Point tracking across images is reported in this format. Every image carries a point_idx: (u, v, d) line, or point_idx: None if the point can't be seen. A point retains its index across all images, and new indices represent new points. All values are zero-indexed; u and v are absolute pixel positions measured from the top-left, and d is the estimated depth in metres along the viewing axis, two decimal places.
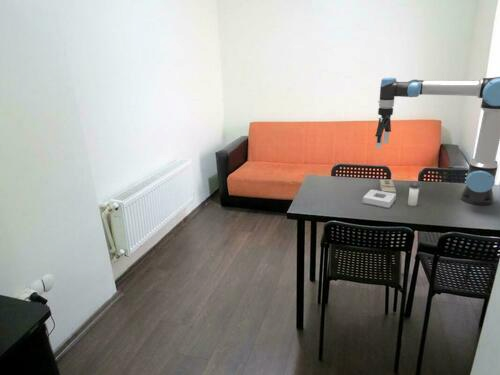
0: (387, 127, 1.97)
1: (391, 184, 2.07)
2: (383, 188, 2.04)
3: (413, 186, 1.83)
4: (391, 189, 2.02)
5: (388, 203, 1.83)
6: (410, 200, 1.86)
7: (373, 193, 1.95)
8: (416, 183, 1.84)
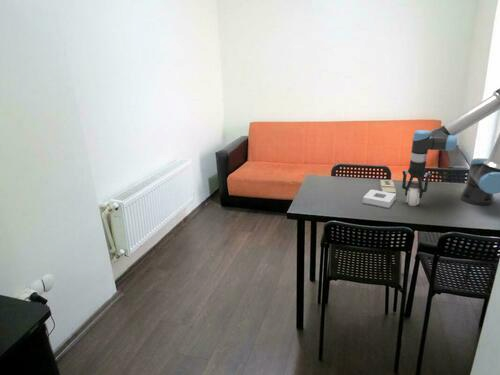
0: None
1: (391, 185, 2.06)
2: (383, 189, 2.03)
3: (413, 186, 1.83)
4: (391, 190, 2.01)
5: (388, 203, 1.83)
6: (410, 200, 1.86)
7: (373, 193, 1.95)
8: (416, 183, 1.84)
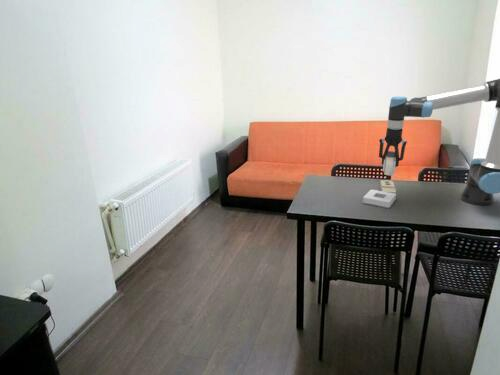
0: None
1: (391, 185, 2.06)
2: (383, 189, 2.03)
3: (389, 155, 1.81)
4: (391, 190, 2.01)
5: (388, 203, 1.83)
6: (386, 169, 1.84)
7: (373, 193, 1.95)
8: (393, 152, 1.82)
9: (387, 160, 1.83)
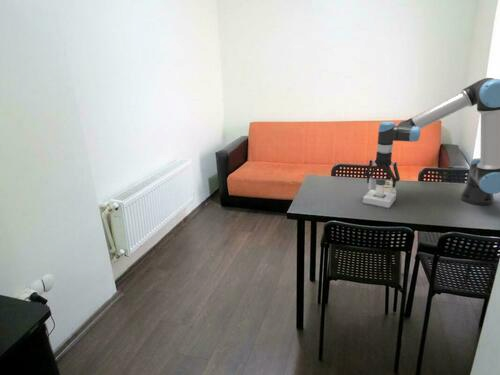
0: None
1: None
2: None
3: (379, 183, 1.88)
4: None
5: (388, 203, 1.83)
6: (376, 196, 1.91)
7: (373, 193, 1.95)
8: (382, 180, 1.89)
9: (377, 187, 1.90)
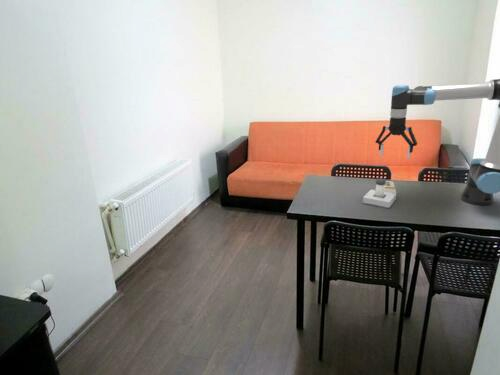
0: None
1: (392, 185, 2.05)
2: None
3: (379, 183, 1.88)
4: (392, 191, 2.00)
5: (388, 203, 1.83)
6: (376, 196, 1.91)
7: (373, 193, 1.95)
8: (382, 180, 1.89)
9: (377, 187, 1.90)
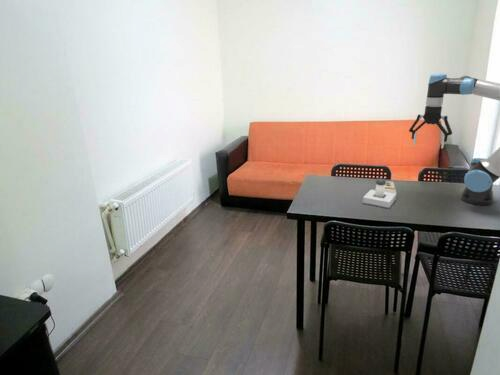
0: None
1: (392, 186, 2.05)
2: (384, 190, 2.01)
3: (379, 183, 1.88)
4: (392, 191, 1.99)
5: (388, 203, 1.83)
6: (376, 196, 1.91)
7: (373, 193, 1.95)
8: (382, 180, 1.89)
9: (377, 187, 1.90)
